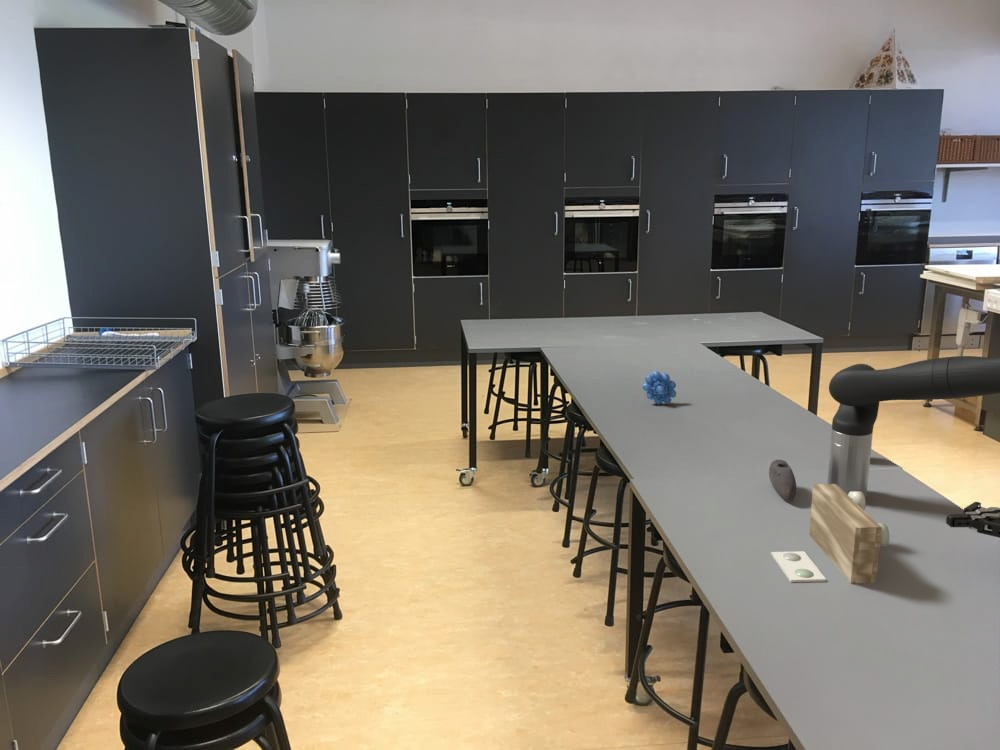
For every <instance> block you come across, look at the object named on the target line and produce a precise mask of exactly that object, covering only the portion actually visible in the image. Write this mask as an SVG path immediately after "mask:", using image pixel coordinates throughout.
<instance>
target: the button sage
mask: <svg viewBox="0 0 1000 750" xmlns="http://www.w3.org/2000/svg"><path fill="white" fill-rule="evenodd" d="M877 523H878V524H879V525H880V526H881V527H882V528H881V538H880V546H888V545H889V543H890V531H889V528H888V525H887V524H886V523H884V522H877Z"/></svg>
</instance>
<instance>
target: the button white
mask: <svg viewBox="0 0 1000 750" xmlns="http://www.w3.org/2000/svg"><path fill="white" fill-rule="evenodd" d="M848 496H849V497H850V498H851V499H852V500H853V501H854V502H856V503H857V504H858V505H859V506H860V507H861V508H862V509H863V510H864V511H866V499H865V497H864V494H863V493H862V492H861V491H854V492H849V494H848Z"/></svg>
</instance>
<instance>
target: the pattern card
mask: <svg viewBox="0 0 1000 750" xmlns="http://www.w3.org/2000/svg"><path fill="white" fill-rule="evenodd" d="M770 555H771V556H772V557H773V560H774V561H775V562H776V563H777V565H778V566H779V568H780V570H782V572H783V573H784V575H785V576H786V577H787V580H789V582H790V583H810V582H811V583H813V582H815V583H816V582H819V583H820V582H821V583H822V582H827V578H826V577H825V576H824V574H822V571H820V570H819V568H818V567H817V565H816V564H815V563H814V562H813V561H812V559H811V558H810V557H809V556H808V554H807V553H806V552H805V551H803V550H801V551H800V550H799V551H771V552H770Z"/></svg>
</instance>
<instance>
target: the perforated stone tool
mask: <svg viewBox="0 0 1000 750" xmlns="http://www.w3.org/2000/svg"><path fill="white" fill-rule="evenodd" d="M769 466H770V467H769V470H768V477H769V480H770V483H771V485H772V488H773V489H774V490H775V492H776V493H777V494H778V496H780V497H781V498H782V499H783V500H784V501H786V502H792V501H793V500H794V499H795V497H796V493H797V482H796V477H795V474H794V471H793V469H792V467H791V466H790V465H789V463H788V462H787V461H785V460H783V459H775V460H773V461H772V462H771V463H770V465H769Z"/></svg>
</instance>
